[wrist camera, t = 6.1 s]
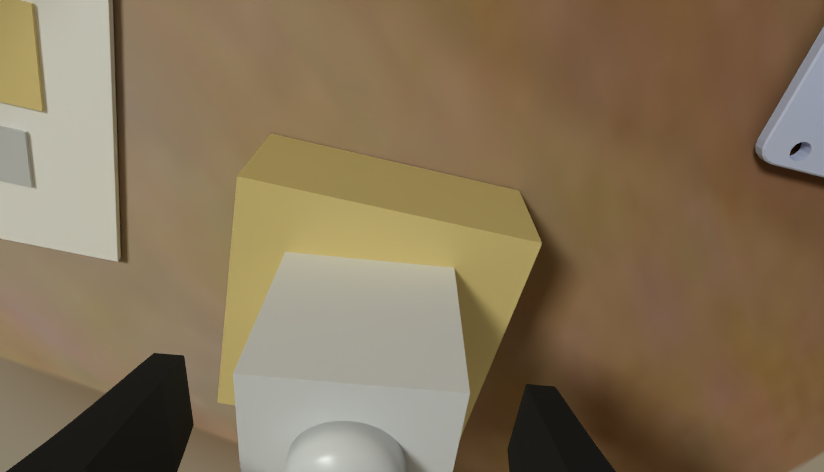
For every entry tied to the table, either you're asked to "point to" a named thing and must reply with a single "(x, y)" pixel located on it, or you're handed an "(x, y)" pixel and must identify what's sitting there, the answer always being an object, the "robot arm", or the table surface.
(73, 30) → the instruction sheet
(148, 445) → the robot arm
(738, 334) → the table surface
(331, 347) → the top brick
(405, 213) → the base brick
